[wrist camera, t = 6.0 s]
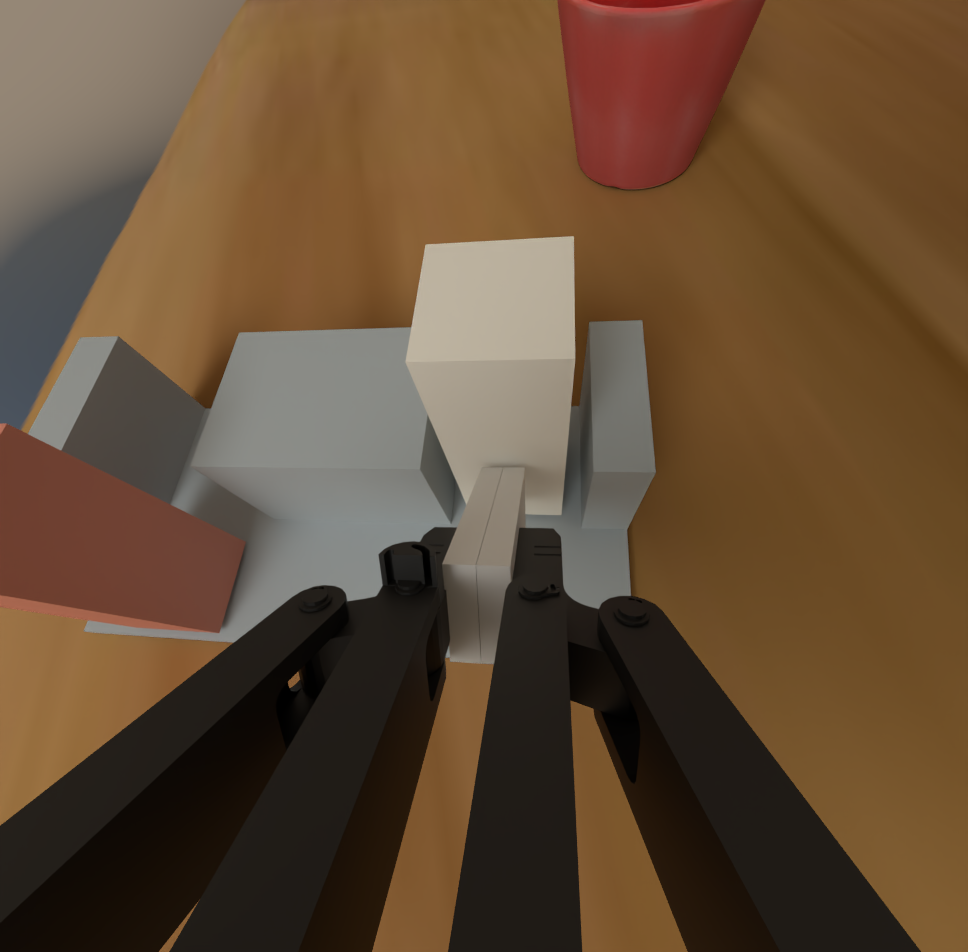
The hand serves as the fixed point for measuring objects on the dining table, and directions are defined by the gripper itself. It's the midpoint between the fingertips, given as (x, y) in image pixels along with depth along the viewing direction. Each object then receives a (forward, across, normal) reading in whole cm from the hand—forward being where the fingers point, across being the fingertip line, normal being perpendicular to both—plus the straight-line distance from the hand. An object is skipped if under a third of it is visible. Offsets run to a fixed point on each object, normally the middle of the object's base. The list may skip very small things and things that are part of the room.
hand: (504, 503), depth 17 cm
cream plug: (+6, 0, +2) cm, 6 cm away
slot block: (+5, +7, +3) cm, 9 cm away
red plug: (+2, +15, +6) cm, 16 cm away
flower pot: (+24, -7, -16) cm, 30 cm away
